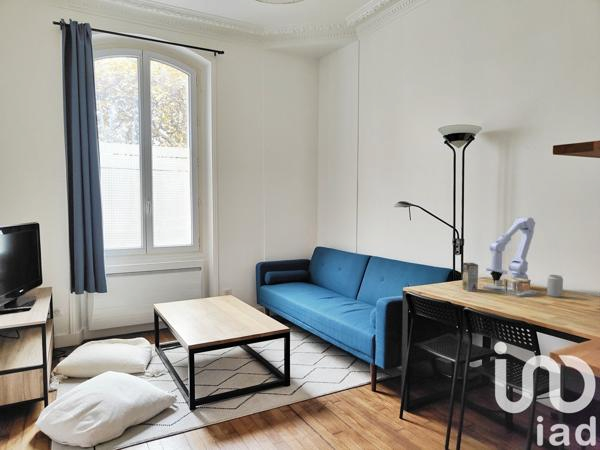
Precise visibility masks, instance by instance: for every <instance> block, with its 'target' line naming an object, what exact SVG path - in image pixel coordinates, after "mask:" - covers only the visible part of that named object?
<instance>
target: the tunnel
mask: <svg viewBox="0 0 600 450" xmlns="http://www.w3.org/2000/svg"><path fill="white" fill-rule="evenodd" d="M508 282H509V283H511V282H513V291H512V293H516V282H518V283H527V284H530V285H531V279H529V278H528V279H523V278H513V279H511V278H504V279H503V283H504V284H503V285H504V291H507V286H508Z"/></svg>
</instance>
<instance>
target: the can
mask: <svg viewBox="0 0 600 450" xmlns="http://www.w3.org/2000/svg"><path fill="white" fill-rule="evenodd" d="M562 276H563V275H561V274H560V275H559V274H548V276H547V283H546V284H547V285H546V286H547V288H546V292H547V293H546V294H547V296H548V297H552V298H561V297H563V295H564V294H563V291H564V288H563V284H564V278H563V277H562Z"/></svg>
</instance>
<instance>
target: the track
mask: <svg viewBox="0 0 600 450" xmlns="http://www.w3.org/2000/svg"><path fill="white" fill-rule="evenodd" d="M502 286H504V284H502ZM510 286H511V285H507V287H510ZM511 288H513V287H511ZM482 289H484V290H487V291H488V290H489V291H492V292H496V293H501V294H505V295H509V296H513V297H517V298H524V297H533V296H539V293H538V292H534V291H532V294H525V292H521V291H517V290H516V293H512V291H513V290H512V289H508V288H507V291H504V288H503V287H499V286H495V284H489V283H487V284H486V285H485V286H484V285H483V286H482ZM516 289H517V288H516Z"/></svg>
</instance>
